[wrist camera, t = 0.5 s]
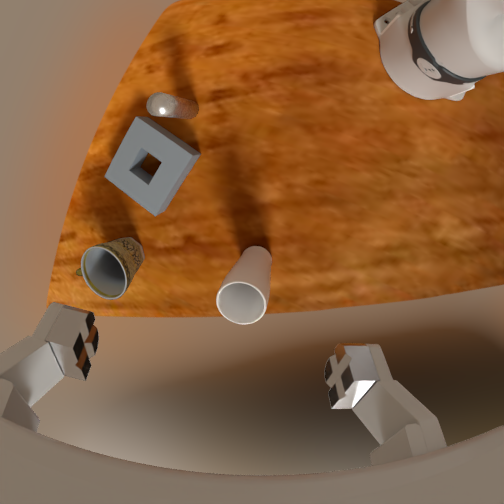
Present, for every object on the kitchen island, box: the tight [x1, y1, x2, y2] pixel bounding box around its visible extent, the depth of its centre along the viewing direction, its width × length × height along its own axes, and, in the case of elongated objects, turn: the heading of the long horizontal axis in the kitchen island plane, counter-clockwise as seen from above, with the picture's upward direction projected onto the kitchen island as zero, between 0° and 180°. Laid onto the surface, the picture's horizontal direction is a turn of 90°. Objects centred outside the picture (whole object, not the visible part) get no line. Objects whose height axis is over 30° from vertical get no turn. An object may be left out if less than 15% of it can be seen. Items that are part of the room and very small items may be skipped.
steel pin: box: [147, 92, 199, 119], centre depth 40 cm, size 3×3×12 cm
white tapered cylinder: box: [216, 246, 272, 324], centre depth 46 cm, size 7×7×15 cm
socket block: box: [105, 116, 201, 216], centre depth 48 cm, size 12×12×4 cm
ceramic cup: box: [76, 237, 145, 300], centre depth 52 cm, size 13×10×10 cm
